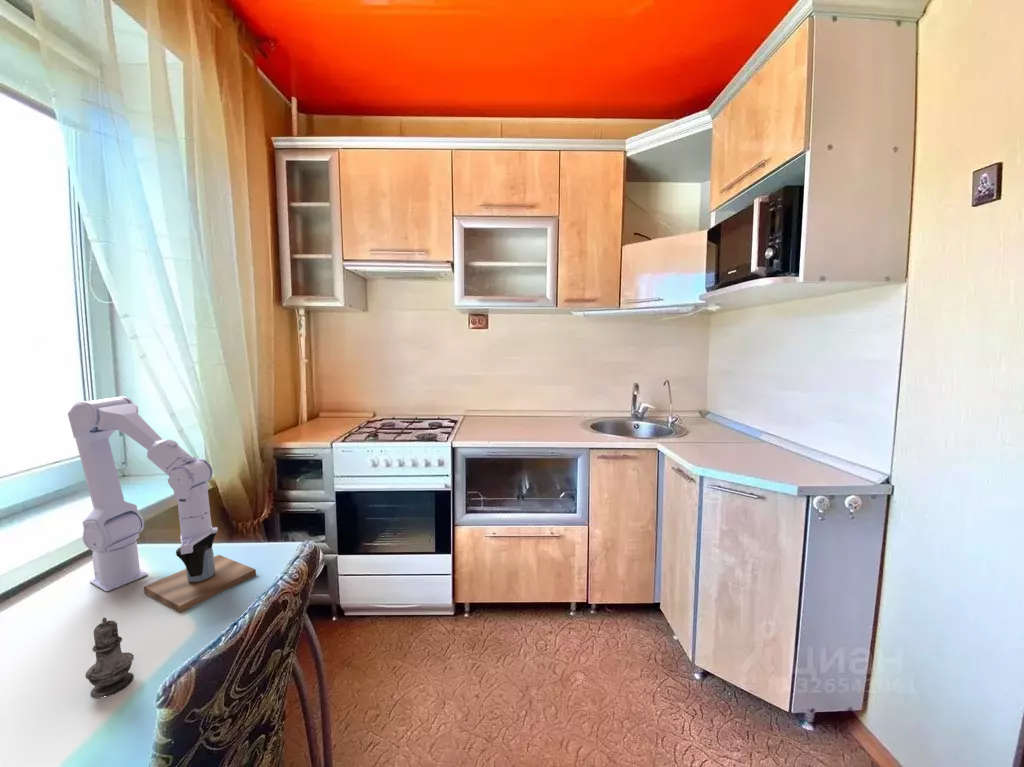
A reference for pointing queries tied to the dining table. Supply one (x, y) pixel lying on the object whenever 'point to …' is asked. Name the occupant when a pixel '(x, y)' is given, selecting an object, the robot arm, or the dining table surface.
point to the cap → (205, 567)
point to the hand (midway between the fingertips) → (200, 569)
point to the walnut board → (198, 584)
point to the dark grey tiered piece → (109, 662)
